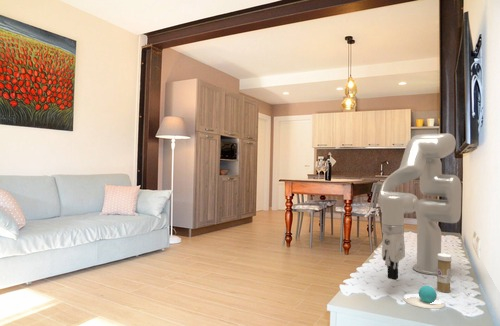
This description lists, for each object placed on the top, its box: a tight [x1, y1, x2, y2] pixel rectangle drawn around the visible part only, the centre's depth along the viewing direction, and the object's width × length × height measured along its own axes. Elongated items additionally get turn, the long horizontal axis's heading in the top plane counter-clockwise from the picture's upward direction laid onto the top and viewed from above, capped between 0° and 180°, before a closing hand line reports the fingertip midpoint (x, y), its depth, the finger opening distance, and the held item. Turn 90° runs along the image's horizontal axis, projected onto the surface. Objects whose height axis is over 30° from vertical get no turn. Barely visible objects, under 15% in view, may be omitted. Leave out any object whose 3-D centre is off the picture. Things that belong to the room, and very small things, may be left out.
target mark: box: [403, 297, 446, 310], centre depth 121 cm, size 13×13×1 cm
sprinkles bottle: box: [436, 252, 452, 293], centre depth 131 cm, size 5×5×13 cm
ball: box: [418, 285, 438, 303], centre depth 120 cm, size 6×6×6 cm
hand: (392, 278), depth 129 cm, fingers closed
